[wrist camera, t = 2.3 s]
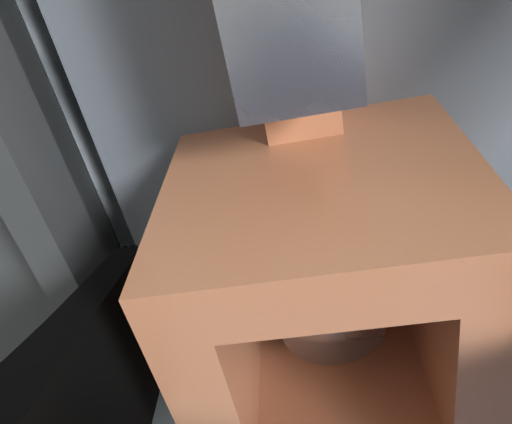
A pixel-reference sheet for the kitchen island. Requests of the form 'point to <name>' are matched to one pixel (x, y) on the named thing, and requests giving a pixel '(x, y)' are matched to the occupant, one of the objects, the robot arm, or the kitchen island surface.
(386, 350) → the orange hollow square box
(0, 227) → the tray
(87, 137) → the kitchen island surface
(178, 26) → the slate board
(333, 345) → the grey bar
